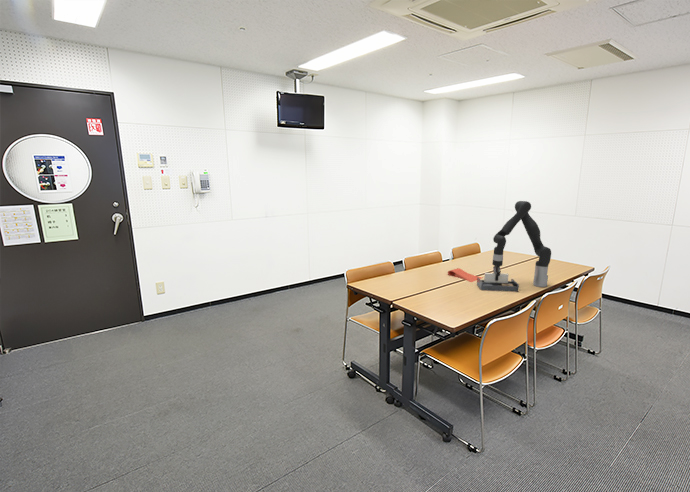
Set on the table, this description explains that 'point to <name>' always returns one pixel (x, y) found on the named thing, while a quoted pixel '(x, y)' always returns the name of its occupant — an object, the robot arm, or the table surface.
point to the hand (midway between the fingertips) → (496, 279)
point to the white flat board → (491, 278)
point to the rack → (498, 286)
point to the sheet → (463, 275)
